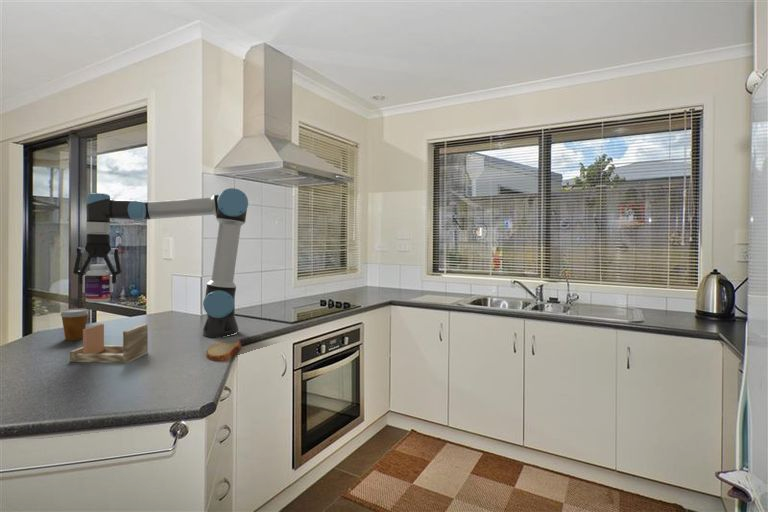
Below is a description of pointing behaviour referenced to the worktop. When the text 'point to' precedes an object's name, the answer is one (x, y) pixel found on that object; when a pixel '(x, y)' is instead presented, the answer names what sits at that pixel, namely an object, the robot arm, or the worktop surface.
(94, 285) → the pill bottle
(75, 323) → the disposable coffee cup
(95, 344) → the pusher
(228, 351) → the slice of bread
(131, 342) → the lane
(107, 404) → the worktop surface
